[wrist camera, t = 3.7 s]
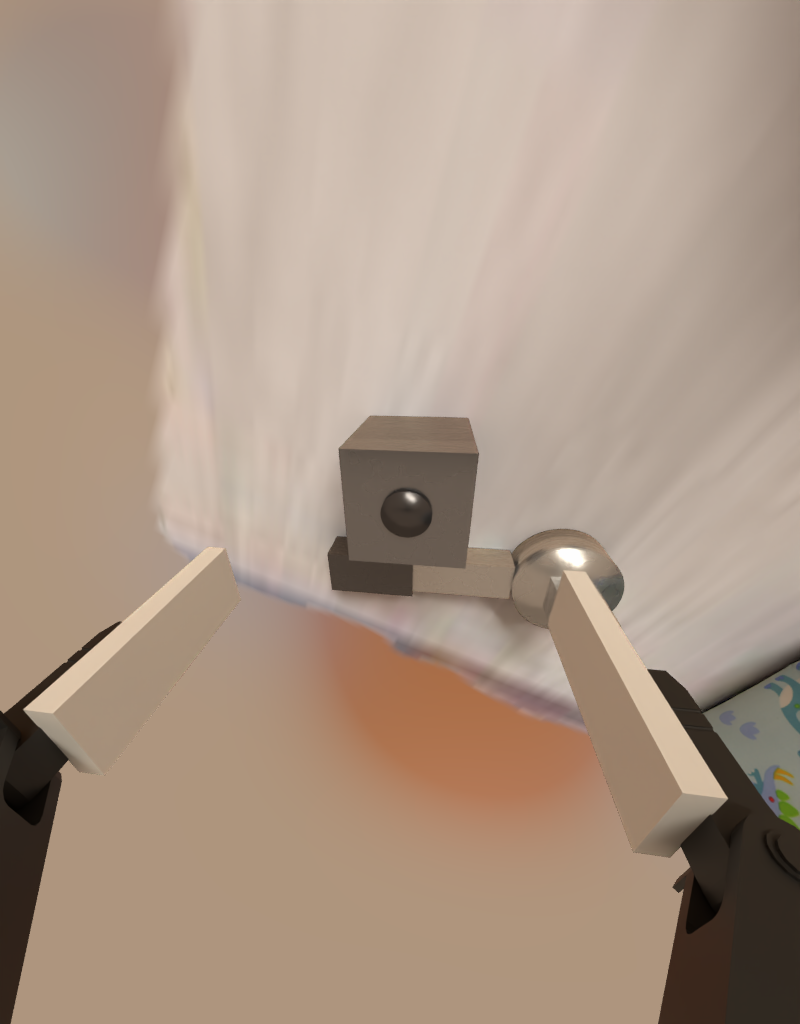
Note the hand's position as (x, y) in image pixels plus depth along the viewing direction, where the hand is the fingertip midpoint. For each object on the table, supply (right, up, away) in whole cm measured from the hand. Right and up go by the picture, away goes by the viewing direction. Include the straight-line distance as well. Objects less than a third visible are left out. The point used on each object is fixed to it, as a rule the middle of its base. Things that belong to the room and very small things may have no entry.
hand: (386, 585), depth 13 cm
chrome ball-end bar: (+6, -2, +16) cm, 17 cm away
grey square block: (+2, +7, +12) cm, 14 cm away
